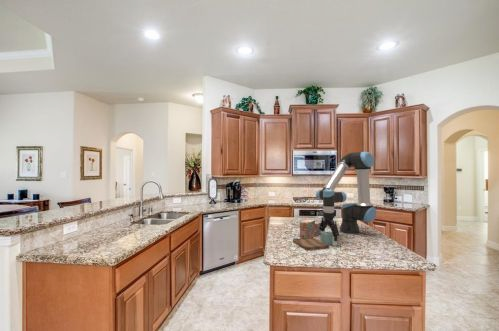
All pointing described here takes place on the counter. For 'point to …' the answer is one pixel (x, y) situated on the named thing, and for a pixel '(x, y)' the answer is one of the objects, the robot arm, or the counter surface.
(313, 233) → the stack of blocks
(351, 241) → the counter surface
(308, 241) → the board
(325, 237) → the cube
